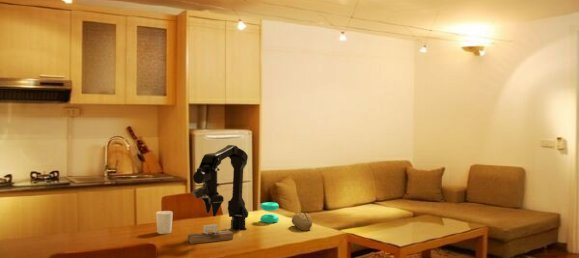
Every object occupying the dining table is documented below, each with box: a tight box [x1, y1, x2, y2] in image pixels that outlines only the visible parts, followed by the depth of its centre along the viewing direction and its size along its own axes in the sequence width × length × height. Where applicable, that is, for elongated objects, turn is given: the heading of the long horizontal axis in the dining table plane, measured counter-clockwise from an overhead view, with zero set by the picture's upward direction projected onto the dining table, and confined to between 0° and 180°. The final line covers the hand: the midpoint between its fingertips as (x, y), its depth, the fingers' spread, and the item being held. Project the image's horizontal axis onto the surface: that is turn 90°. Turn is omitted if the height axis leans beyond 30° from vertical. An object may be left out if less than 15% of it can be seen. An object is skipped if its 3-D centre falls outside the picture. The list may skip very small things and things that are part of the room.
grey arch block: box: [203, 223, 219, 235], centre depth 236 cm, size 2×6×6 cm, turn 117°
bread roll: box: [291, 212, 313, 232], centre depth 263 cm, size 10×15×8 cm, turn 23°
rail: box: [187, 230, 234, 245], centre depth 236 cm, size 6×20×3 cm, turn 117°
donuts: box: [260, 201, 280, 224], centre depth 278 cm, size 10×10×10 cm
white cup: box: [155, 210, 174, 235], centre depth 251 cm, size 8×8×10 cm
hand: (210, 214), depth 237 cm, fingers open, 9 cm apart
